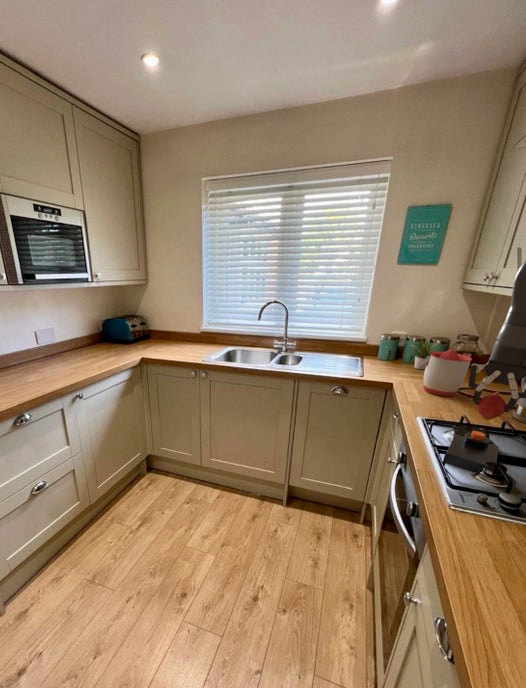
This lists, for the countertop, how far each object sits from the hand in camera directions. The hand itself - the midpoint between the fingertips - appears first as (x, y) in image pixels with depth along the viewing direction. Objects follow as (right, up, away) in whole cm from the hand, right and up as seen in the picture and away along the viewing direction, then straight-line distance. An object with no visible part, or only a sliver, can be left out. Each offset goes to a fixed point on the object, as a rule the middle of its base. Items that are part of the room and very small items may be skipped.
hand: (490, 407), depth 86 cm
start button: (+7, -10, +13) cm, 17 cm away
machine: (+3, -15, +11) cm, 19 cm away
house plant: (+43, +26, +96) cm, 108 cm away
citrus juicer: (+29, +5, +64) cm, 70 cm away
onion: (0, -4, +1) cm, 4 cm away
